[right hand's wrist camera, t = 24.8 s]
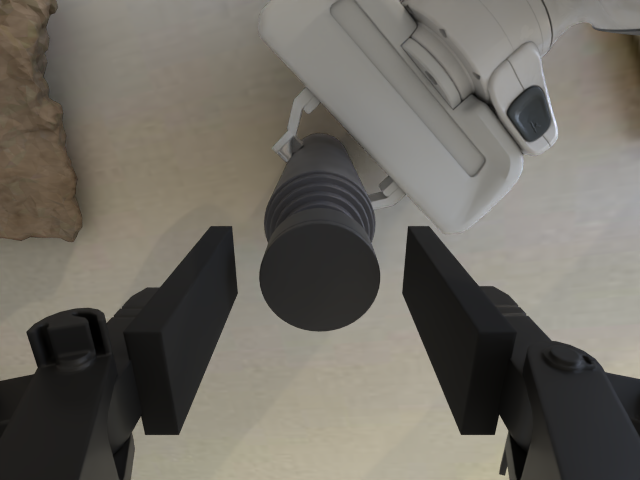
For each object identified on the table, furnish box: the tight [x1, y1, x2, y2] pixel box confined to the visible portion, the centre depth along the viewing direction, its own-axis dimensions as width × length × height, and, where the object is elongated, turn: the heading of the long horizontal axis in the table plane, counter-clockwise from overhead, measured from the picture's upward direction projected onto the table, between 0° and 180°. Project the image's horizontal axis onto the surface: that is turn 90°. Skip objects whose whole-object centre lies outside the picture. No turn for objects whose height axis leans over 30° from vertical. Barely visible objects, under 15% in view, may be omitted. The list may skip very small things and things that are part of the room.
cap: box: [259, 208, 380, 331], centre depth 13 cm, size 4×4×2 cm
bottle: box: [264, 133, 375, 243], centre depth 24 cm, size 5×5×22 cm
